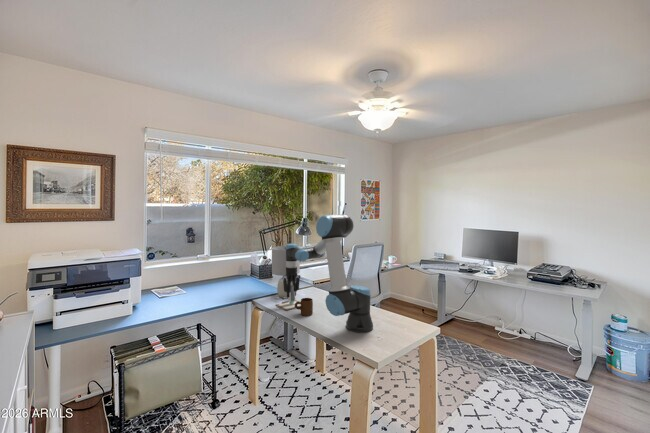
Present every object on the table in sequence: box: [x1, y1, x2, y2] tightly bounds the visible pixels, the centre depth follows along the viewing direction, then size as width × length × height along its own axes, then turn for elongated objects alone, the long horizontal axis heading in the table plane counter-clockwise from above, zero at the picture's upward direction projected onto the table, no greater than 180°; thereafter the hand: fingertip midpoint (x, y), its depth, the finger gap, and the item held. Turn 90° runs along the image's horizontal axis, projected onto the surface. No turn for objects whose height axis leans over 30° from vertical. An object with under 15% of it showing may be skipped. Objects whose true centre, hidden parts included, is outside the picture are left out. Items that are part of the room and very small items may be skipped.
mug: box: [295, 297, 314, 317], centre depth 196 cm, size 12×8×9 cm, turn 121°
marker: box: [289, 285, 294, 304], centre depth 211 cm, size 3×3×12 cm
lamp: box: [271, 245, 301, 299], centre depth 231 cm, size 20×20×37 cm
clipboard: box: [275, 299, 301, 312], centre depth 212 cm, size 13×16×1 cm
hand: (291, 301), depth 211 cm, fingers closed on marker, 3 cm apart
